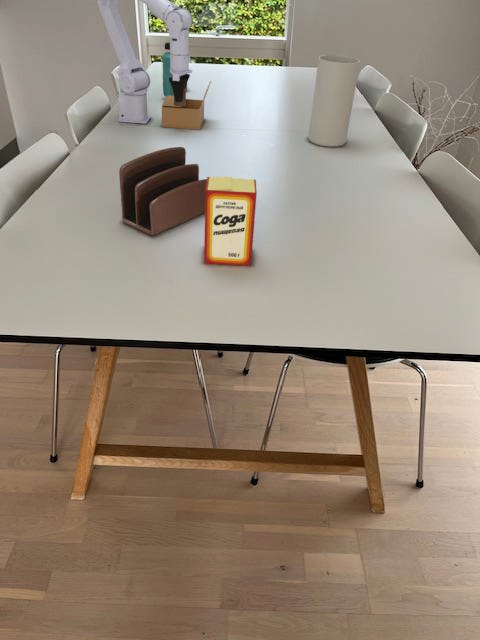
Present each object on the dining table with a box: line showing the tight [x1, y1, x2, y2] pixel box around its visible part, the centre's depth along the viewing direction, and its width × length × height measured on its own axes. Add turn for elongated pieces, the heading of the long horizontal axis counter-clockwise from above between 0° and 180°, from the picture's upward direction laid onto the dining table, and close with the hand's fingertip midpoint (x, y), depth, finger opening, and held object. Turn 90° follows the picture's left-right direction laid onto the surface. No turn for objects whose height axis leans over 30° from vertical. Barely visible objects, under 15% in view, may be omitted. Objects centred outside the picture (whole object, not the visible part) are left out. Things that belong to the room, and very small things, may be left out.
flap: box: [200, 80, 212, 108], centre depth 180 cm, size 6×13×1 cm
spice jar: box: [174, 88, 187, 106], centre depth 173 cm, size 4×4×5 cm
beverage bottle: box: [161, 41, 174, 98], centre depth 205 cm, size 6×7×20 cm
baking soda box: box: [203, 176, 258, 267], centre depth 106 cm, size 10×6×16 cm
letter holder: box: [118, 146, 207, 237], centre depth 121 cm, size 10×20×14 cm, turn 141°
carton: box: [161, 96, 205, 130], centre depth 184 cm, size 13×13×7 cm
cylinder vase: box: [308, 54, 361, 148], centre depth 171 cm, size 12×12×25 cm
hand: (179, 100), depth 174 cm, fingers closed on spice jar, 4 cm apart
